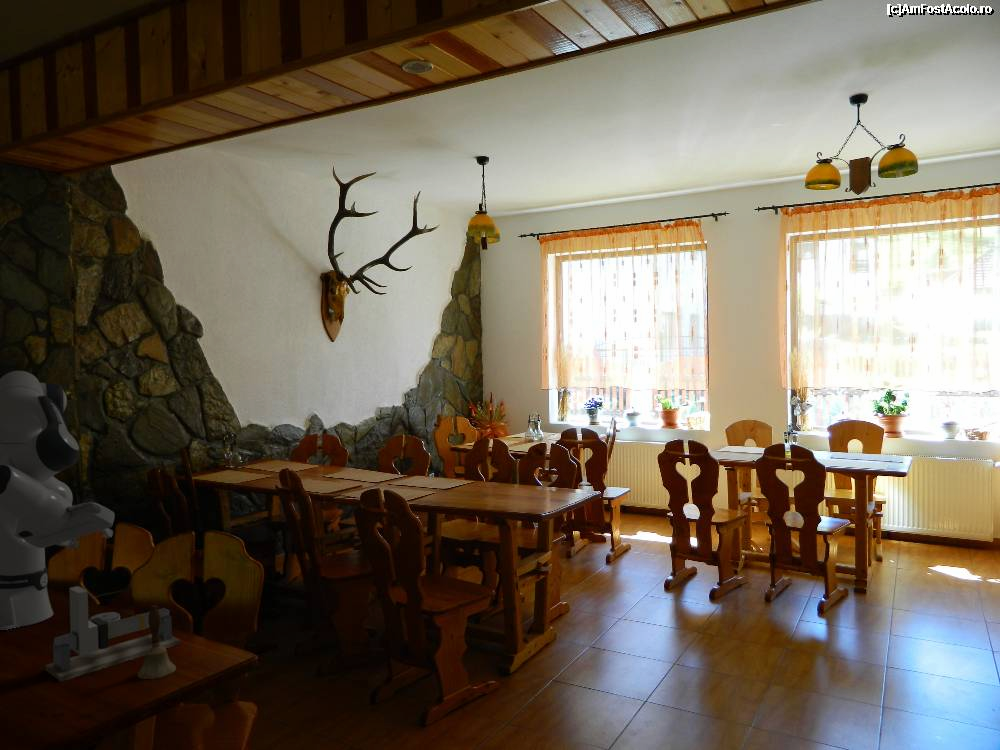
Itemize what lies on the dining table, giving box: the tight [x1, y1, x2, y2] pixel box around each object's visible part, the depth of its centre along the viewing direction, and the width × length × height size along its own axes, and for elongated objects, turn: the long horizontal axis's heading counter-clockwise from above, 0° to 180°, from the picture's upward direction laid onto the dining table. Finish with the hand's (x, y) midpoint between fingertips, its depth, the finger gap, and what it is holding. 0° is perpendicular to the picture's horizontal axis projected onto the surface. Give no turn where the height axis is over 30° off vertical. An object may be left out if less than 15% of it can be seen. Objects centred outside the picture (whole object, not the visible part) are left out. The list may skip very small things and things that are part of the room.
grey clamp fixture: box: [52, 607, 173, 672], centre depth 181 cm, size 26×5×7 cm, turn 139°
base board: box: [45, 633, 181, 683], centre depth 181 cm, size 28×10×1 cm, turn 139°
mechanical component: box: [88, 611, 121, 623], centre depth 199 cm, size 10×4×10 cm
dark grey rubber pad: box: [91, 618, 109, 649], centre depth 179 cm, size 2×6×6 cm, turn 49°
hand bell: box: [137, 604, 177, 680], centre depth 172 cm, size 8×8×16 cm
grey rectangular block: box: [68, 585, 99, 656], centre depth 176 cm, size 4×6×15 cm, turn 49°
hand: (93, 540), depth 176 cm, fingers open, 8 cm apart
